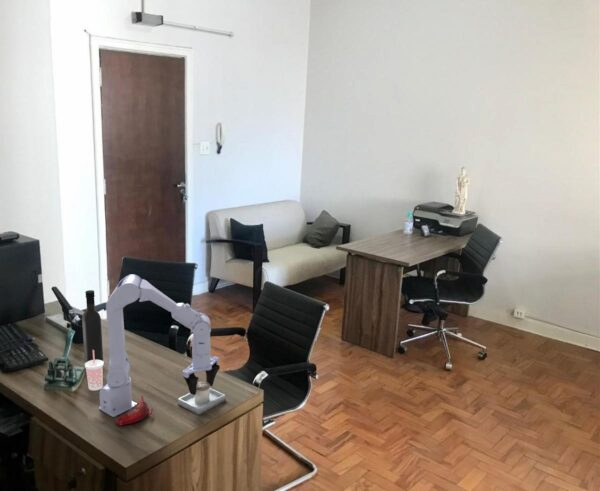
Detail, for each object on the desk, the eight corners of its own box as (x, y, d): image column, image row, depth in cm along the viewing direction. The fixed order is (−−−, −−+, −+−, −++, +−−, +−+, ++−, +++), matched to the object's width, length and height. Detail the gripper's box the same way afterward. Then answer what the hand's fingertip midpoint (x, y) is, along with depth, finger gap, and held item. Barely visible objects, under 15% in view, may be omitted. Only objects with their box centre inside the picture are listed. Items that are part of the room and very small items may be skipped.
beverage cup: (98, 392, 186) (96, 354, 182) (82, 390, 187) (80, 352, 184) (108, 384, 192) (106, 347, 188) (92, 381, 193) (90, 345, 189)
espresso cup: (201, 405, 179) (201, 390, 177) (191, 400, 182) (190, 385, 180) (212, 399, 183) (212, 384, 181) (202, 394, 186) (202, 379, 184)
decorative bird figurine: (147, 428, 166) (114, 429, 166) (160, 398, 183) (130, 399, 183) (146, 420, 165) (113, 421, 165) (160, 391, 182) (130, 392, 182)
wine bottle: (84, 366, 204) (79, 290, 196) (99, 362, 207) (95, 287, 200) (88, 372, 199) (83, 294, 192) (104, 368, 203) (100, 292, 195)
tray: (198, 414, 175) (198, 409, 174) (177, 404, 181) (177, 398, 180) (225, 400, 184) (225, 394, 184) (204, 390, 190) (204, 385, 190)
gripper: (193, 363, 170) (193, 402, 173) (226, 348, 181) (225, 385, 185) (178, 356, 174) (178, 394, 177) (211, 342, 185) (210, 378, 189)
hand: (201, 389), depth 181 cm, fingers open, 7 cm apart
